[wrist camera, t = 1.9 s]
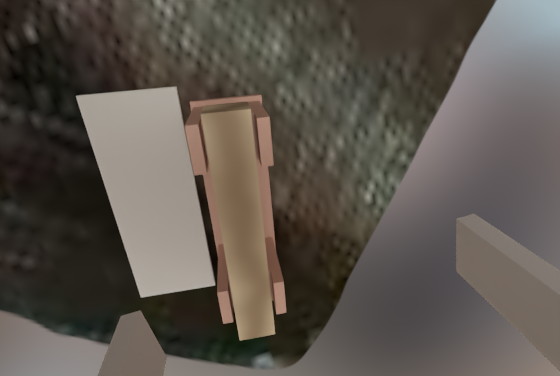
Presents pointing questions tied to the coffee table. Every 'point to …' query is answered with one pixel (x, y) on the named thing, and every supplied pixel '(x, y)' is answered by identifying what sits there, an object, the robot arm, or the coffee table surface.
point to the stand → (263, 161)
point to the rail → (240, 214)
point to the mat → (150, 186)
